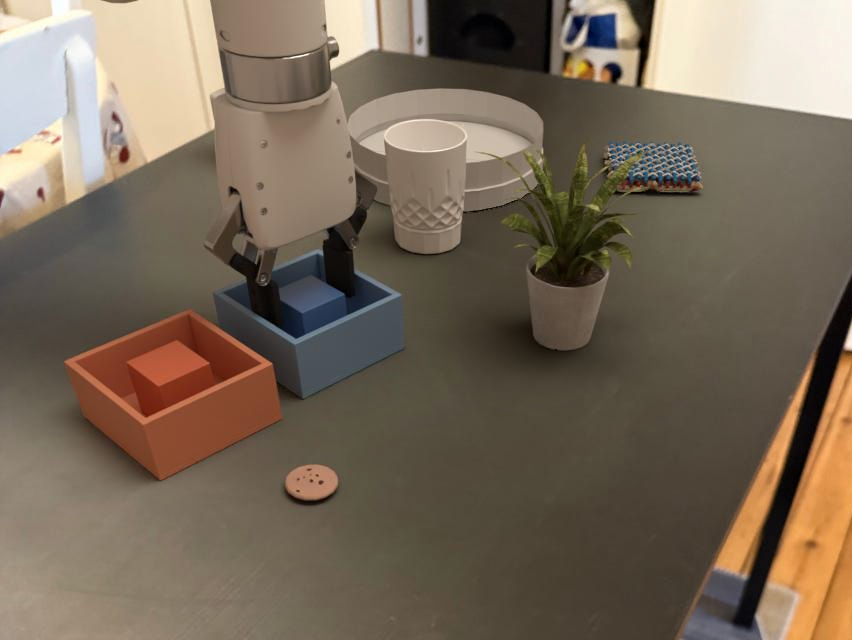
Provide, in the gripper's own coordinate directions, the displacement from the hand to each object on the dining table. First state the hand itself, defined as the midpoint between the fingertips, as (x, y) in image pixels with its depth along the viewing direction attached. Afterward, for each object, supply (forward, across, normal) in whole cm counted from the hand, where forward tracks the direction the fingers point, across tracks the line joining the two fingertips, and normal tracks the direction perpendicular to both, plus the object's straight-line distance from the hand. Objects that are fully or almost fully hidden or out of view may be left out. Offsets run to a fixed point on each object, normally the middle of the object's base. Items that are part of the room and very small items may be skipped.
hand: (306, 305), depth 78 cm
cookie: (+4, +12, +15) cm, 20 cm away
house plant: (+4, -16, +14) cm, 21 cm away
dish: (+4, -34, -18) cm, 39 cm away
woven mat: (+4, -50, -1) cm, 50 cm away
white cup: (+4, -21, -8) cm, 23 cm away
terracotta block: (+3, +14, +1) cm, 14 cm away
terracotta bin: (+4, +14, +1) cm, 15 cm away
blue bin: (+4, 0, 0) cm, 4 cm away
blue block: (+3, 0, 0) cm, 3 cm away
